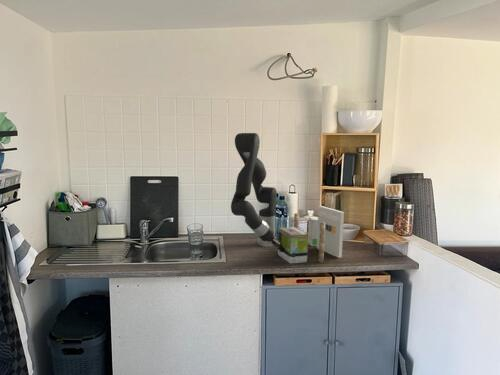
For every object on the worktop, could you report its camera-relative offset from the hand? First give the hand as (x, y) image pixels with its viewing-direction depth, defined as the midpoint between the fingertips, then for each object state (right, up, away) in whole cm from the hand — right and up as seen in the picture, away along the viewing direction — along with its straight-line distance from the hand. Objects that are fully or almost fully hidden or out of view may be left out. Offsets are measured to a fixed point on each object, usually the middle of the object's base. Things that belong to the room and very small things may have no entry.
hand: (282, 250), depth 188 cm
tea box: (+5, -5, +3) cm, 8 cm away
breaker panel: (+26, -3, +13) cm, 29 cm away
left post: (+9, -2, +18) cm, 20 cm away
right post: (+19, -5, -1) cm, 20 cm away
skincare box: (+21, -1, +27) cm, 35 cm away
